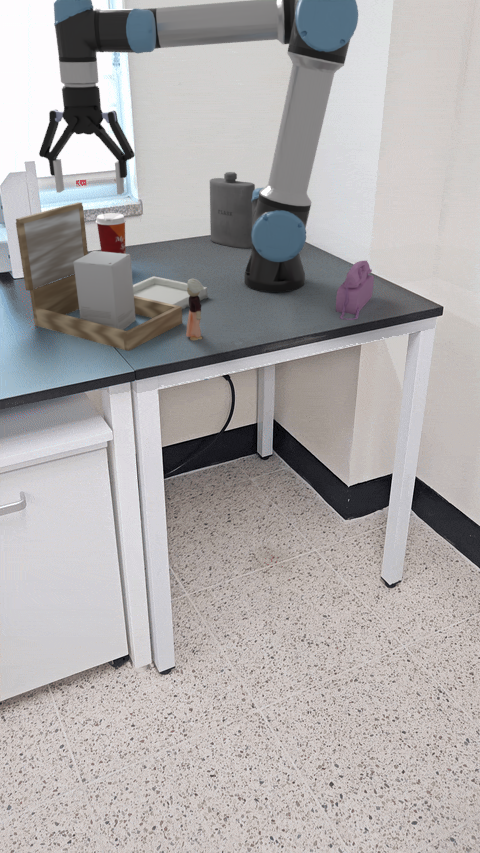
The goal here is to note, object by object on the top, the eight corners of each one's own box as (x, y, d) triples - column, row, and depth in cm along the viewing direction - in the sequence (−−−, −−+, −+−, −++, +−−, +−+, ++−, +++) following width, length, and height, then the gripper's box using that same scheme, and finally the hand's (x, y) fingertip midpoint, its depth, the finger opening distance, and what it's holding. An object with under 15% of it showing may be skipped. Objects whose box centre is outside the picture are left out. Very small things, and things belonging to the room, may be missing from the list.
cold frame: (182, 323, 156) (178, 218, 145) (128, 352, 143) (118, 238, 131) (89, 301, 169) (79, 202, 158) (31, 325, 155) (15, 219, 144)
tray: (207, 297, 171) (207, 287, 170) (166, 318, 159) (166, 307, 158) (154, 286, 178) (153, 276, 177) (111, 304, 167) (110, 294, 165)
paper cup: (127, 274, 186) (123, 219, 180) (97, 274, 187) (92, 219, 180) (131, 265, 193) (127, 212, 186) (103, 265, 193) (98, 212, 186)
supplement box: (137, 320, 158) (132, 253, 150) (118, 335, 151) (112, 265, 143) (100, 315, 160) (93, 249, 153) (79, 330, 153) (72, 260, 146)
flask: (205, 241, 214) (204, 171, 204) (217, 237, 218) (217, 168, 208) (245, 250, 206) (245, 177, 196) (257, 245, 210) (258, 174, 200)
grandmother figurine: (180, 333, 151) (177, 274, 145) (197, 330, 153) (195, 272, 147) (193, 346, 145) (191, 286, 139) (210, 343, 147) (209, 283, 140)
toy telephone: (350, 294, 174) (353, 253, 169) (376, 298, 171) (380, 257, 166) (327, 319, 160) (330, 275, 155) (355, 323, 157) (359, 279, 152)
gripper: (144, 84, 149) (150, 190, 159) (28, 82, 151) (42, 187, 162) (135, 87, 142) (141, 197, 153) (14, 85, 145) (29, 193, 155)
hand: (90, 192), depth 157 cm, fingers open, 13 cm apart
